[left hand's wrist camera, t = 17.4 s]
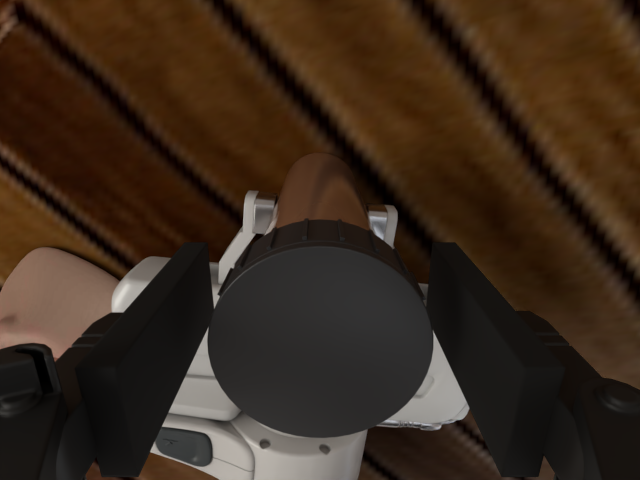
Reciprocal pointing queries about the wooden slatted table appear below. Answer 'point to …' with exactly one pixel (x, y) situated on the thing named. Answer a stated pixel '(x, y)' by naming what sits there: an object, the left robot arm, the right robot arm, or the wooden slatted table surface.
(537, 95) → the wooden slatted table surface
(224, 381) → the lid
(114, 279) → the anatomical model
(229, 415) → the right robot arm
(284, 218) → the jar
